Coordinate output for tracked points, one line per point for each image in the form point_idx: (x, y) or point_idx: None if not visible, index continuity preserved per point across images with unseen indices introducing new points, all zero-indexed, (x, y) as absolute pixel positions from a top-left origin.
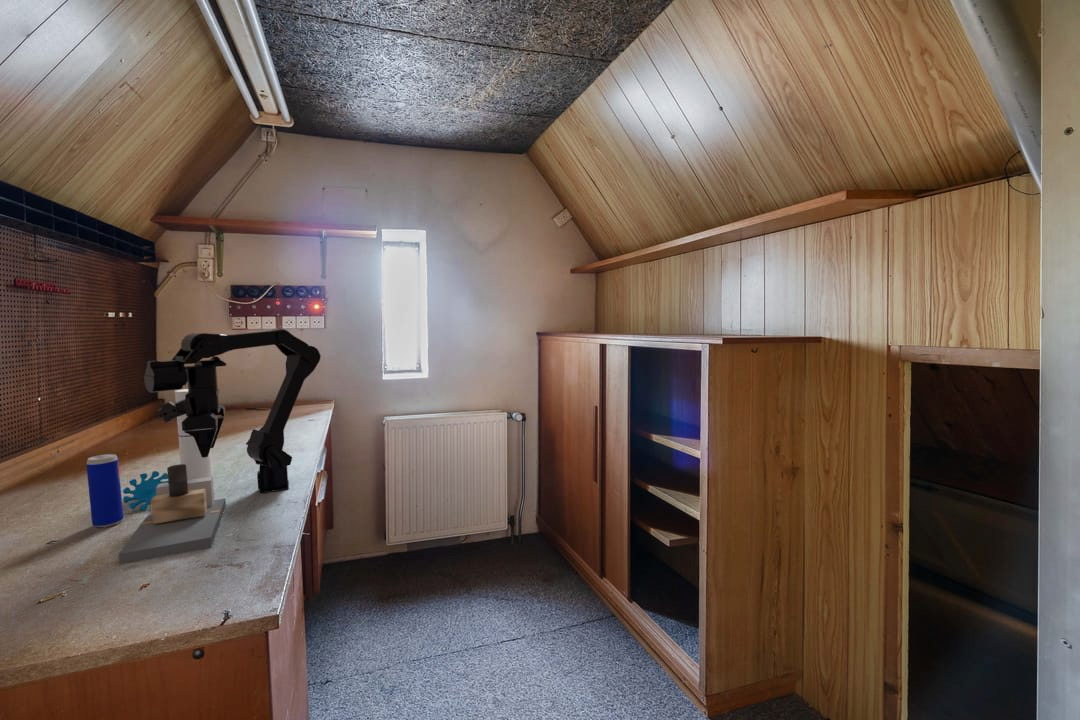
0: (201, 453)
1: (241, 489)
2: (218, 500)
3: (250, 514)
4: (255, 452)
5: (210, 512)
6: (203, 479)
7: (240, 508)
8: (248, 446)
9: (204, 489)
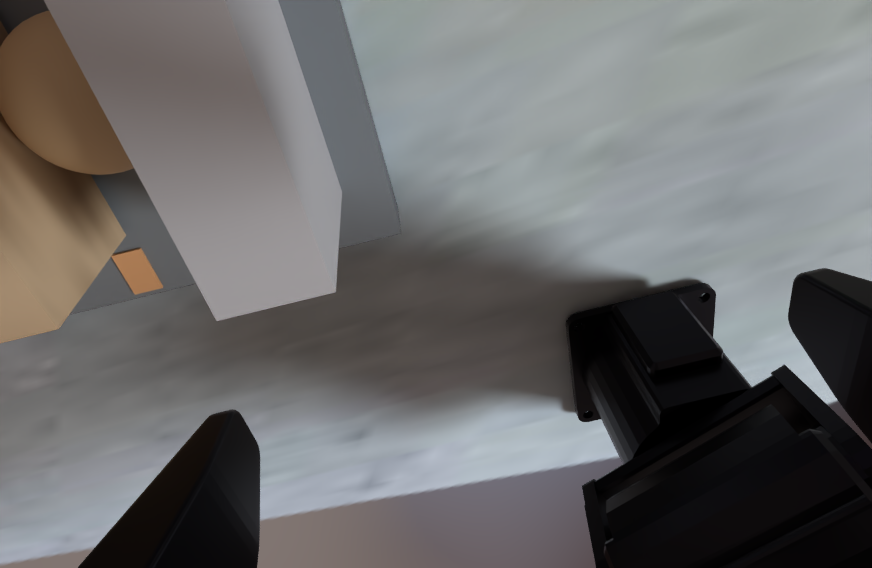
0: (176, 468)
1: (714, 182)
2: (362, 208)
3: (237, 368)
4: (668, 531)
5: (128, 248)
6: (251, 253)
7: (342, 295)
8: (834, 490)
9: (31, 332)
